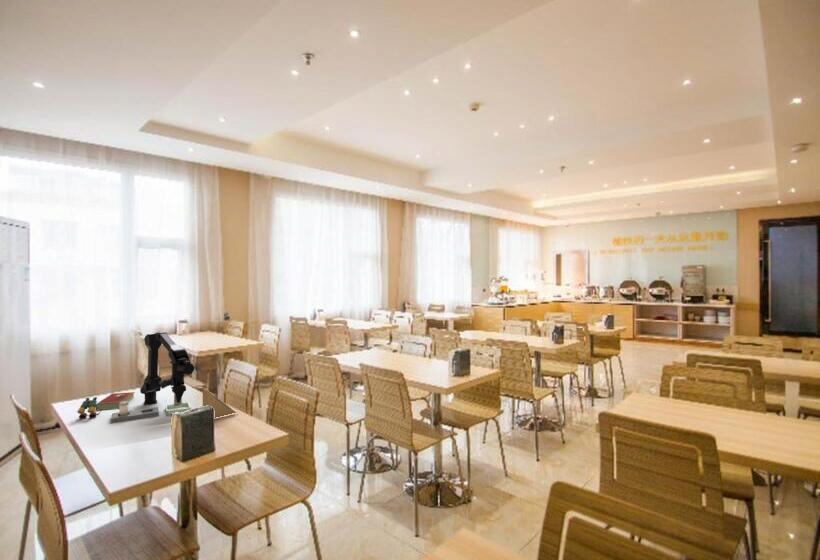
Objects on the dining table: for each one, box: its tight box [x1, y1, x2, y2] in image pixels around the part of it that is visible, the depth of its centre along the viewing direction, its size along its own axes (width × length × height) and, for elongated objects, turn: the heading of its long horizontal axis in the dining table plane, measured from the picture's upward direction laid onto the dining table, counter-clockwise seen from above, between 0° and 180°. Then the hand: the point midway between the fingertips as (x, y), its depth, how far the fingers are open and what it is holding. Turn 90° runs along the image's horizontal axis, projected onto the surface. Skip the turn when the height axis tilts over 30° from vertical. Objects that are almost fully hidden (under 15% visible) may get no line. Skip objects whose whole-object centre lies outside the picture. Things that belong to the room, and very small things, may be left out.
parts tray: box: [164, 401, 192, 416], centre depth 226 cm, size 12×11×2 cm
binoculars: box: [76, 396, 102, 419], centre depth 216 cm, size 9×9×10 cm
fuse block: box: [110, 406, 160, 424], centre depth 216 cm, size 10×20×2 cm, turn 123°
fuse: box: [118, 401, 129, 416], centre depth 213 cm, size 4×4×8 cm
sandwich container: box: [202, 387, 237, 418], centre depth 219 cm, size 9×15×15 cm, turn 133°
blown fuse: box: [173, 393, 183, 408], centre depth 226 cm, size 4×4×8 cm
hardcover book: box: [95, 391, 136, 411], centre depth 239 cm, size 12×21×4 cm, turn 16°
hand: (177, 401), depth 226 cm, fingers closed on blown fuse, 4 cm apart
